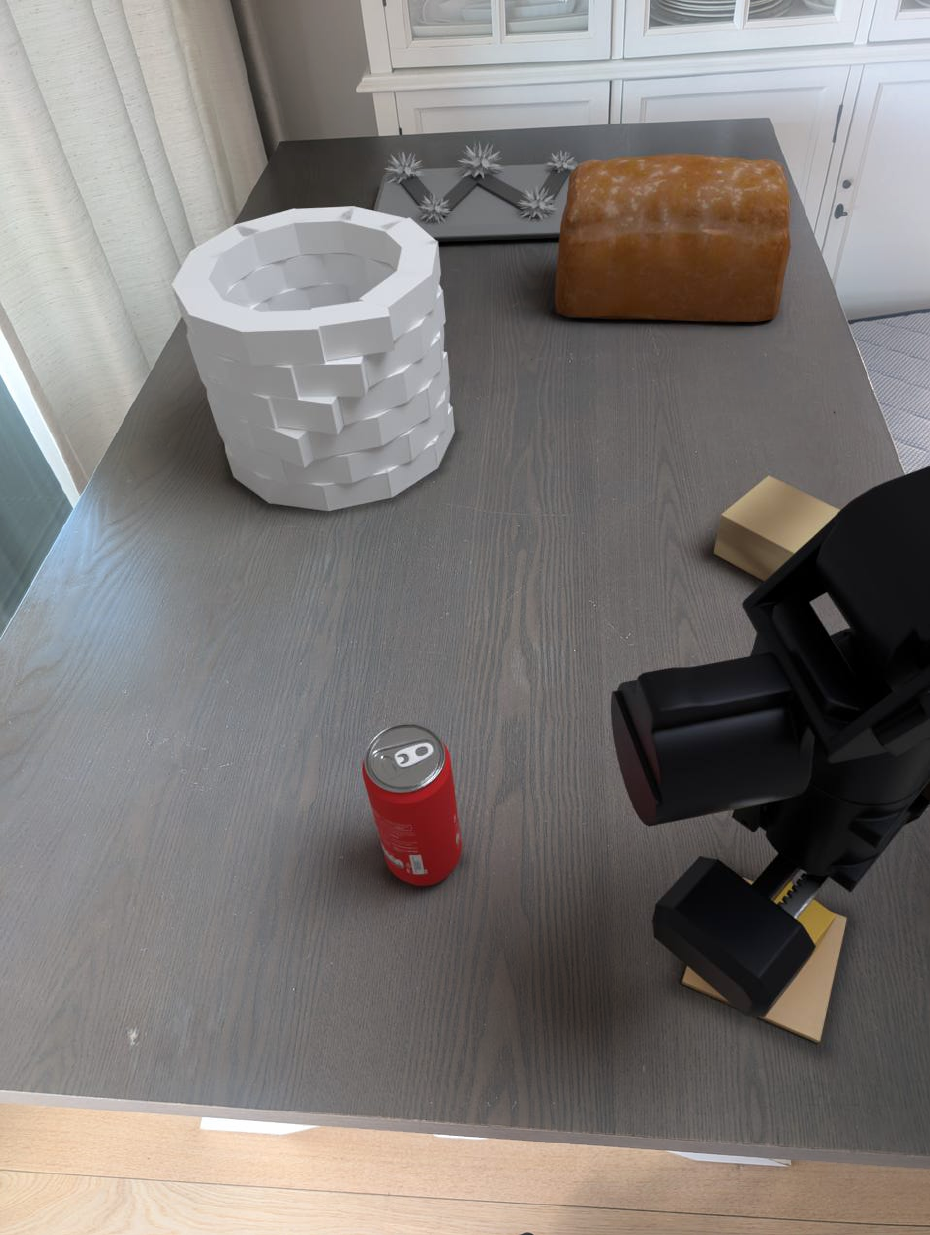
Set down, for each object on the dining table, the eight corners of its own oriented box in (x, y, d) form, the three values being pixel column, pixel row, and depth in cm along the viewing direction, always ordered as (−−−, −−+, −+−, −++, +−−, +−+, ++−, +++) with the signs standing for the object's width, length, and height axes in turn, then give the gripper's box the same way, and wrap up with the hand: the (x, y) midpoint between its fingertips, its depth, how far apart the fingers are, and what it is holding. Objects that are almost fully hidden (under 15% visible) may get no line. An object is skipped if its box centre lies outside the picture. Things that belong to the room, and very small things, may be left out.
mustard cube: (818, 947, 54) (836, 915, 51) (776, 1001, 52) (792, 972, 49) (754, 898, 56) (768, 864, 53) (712, 948, 54) (723, 916, 51)
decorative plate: (366, 250, 122) (358, 197, 116) (384, 185, 136) (378, 135, 131) (588, 242, 119) (590, 187, 114) (582, 176, 134) (584, 125, 128)
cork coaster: (845, 920, 55) (847, 917, 55) (818, 1043, 51) (820, 1041, 50) (718, 870, 58) (718, 867, 58) (681, 983, 54) (681, 981, 53)
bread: (781, 329, 102) (812, 187, 90) (551, 323, 106) (552, 187, 94) (772, 271, 111) (799, 135, 99) (561, 268, 115) (563, 137, 103)
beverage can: (375, 839, 61) (348, 738, 52) (445, 810, 62) (429, 707, 54) (402, 904, 58) (377, 809, 49) (475, 873, 59) (463, 774, 50)
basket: (219, 397, 100) (166, 228, 86) (426, 356, 102) (408, 187, 89) (236, 542, 83) (175, 363, 69) (484, 489, 86) (473, 306, 72)
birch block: (828, 550, 77) (841, 510, 74) (783, 592, 74) (794, 553, 71) (759, 514, 81) (768, 474, 78) (713, 553, 78) (720, 514, 75)
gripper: (809, 549, 47) (755, 725, 58) (568, 769, 38) (562, 923, 50) (1026, 662, 41) (919, 833, 52) (797, 950, 33) (730, 1076, 44)
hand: (783, 906), depth 50 cm, fingers open, 9 cm apart
